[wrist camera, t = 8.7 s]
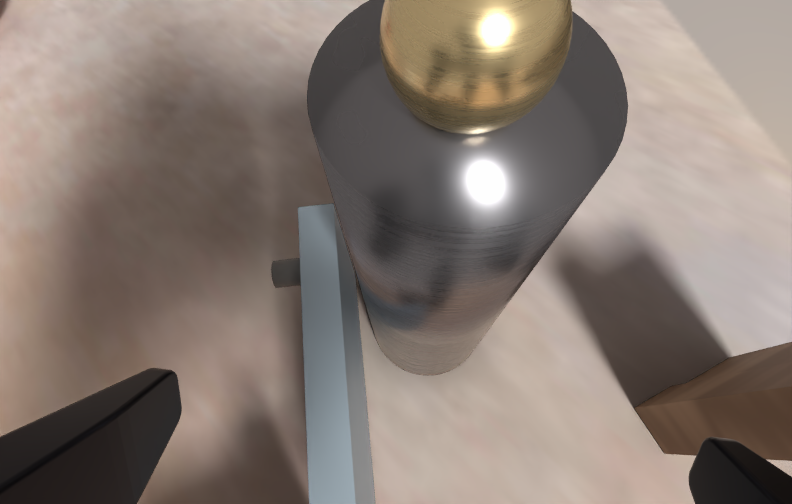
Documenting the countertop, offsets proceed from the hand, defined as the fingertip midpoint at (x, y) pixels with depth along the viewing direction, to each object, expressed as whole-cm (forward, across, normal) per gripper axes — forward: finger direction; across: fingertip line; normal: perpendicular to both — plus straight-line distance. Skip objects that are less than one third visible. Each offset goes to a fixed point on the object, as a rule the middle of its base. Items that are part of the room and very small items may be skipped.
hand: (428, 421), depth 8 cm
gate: (+9, +3, +8) cm, 13 cm away
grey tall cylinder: (+12, 0, +5) cm, 13 cm away
